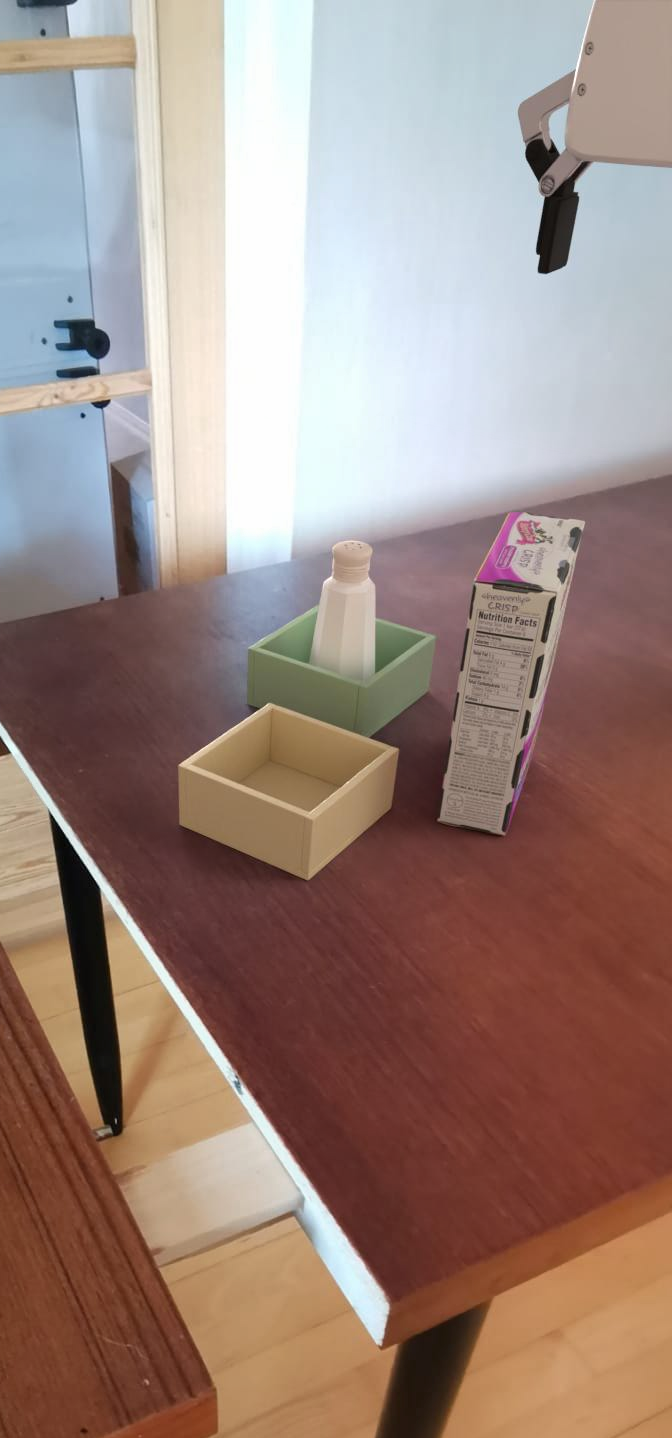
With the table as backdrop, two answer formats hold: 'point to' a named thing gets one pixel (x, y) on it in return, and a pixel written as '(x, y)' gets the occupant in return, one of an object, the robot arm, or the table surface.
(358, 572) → the pepper shaker
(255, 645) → the green bin
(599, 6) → the robot arm
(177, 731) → the table surface
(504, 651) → the candy bar box
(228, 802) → the cream bin
